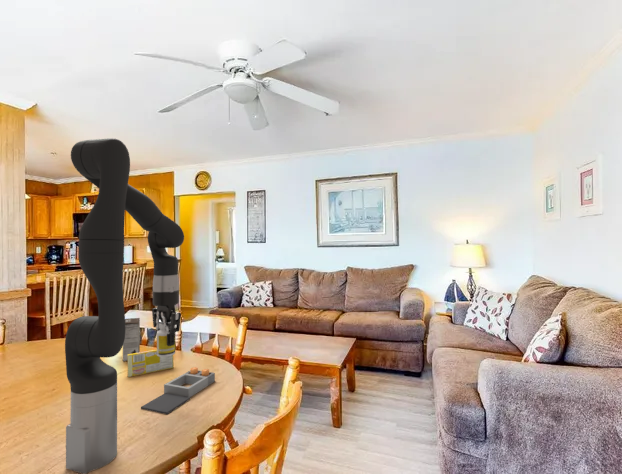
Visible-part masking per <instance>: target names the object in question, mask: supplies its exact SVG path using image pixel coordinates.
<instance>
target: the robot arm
mask: <svg viewBox="0 0 622 474" xmlns="http://www.w3.org/2000/svg"><path fill="white" fill-rule="evenodd" d="M70 160H71V163H72V165H73V167H74V168H75V170H76V171H77V172H78V173H79V174H80V175H82V176H83V178H85V179H86V180H87V181H89V182H90V183H91V184H92V185H94V186H95V187H97V189H99V190H98V194H97V198H96V200H95V203H94V205H93V206H92V208H91V210H90V211H89V212H88V214H87V216H86V218H85V219H84V221H83V223H82V226H80V227H81V228H80V230H79V234H78V250H77V251H78V253H77V256H78V257H77V259H78V263H79V266H80V268H81V270H82V272H83V274H84V276H85V277H86V279H87V281H88V282H89V284H90V285H91V287H92V289H93V291H94V293H95V295H96V300H97V307H98V312H97V313H98V316H97V315H87V316H86V315H84V316H79V317H77V318H75V319H74V320H73V321H72V322H71V323H70V325H69V327H68V328H67V330H66V334H65V340H64V354H65V369H66V371H65V372H66V377H67V381H68V382H69V385H70V387H69V388H70V421H69V422H70V423H69V424H67V425H66V426H65V469H66V470H71V471H73V472H77V473H78V474H79V473H80V474H88V473H89V472H92V471H95V470H98V469H100V468H103V467H105V466H107V465H109V463H111V462H112V461H113V460H114V459H115V458H116V456H117V455H118V372H117V369H116V368H115V367H113V366H112V365H109V364H107V363H106V362H105V361H103V360H102V359H101V358H113V357H116V355H118V354H119V353H120V352H121V350H122V349H123V343H124V339H125V319H126V313H125V304H124V302H125V301H124V285H123V284H124V273H123V272H124V259H125V256H124V255H125V219H126V218H125V215H126V212H127V214H128V215H130V217H132V218H133V220H134V221H135V222H136V223H137V224H138V225H139V226H140V227H141V228H142V229H143V230H145V231H147V232H148V233H147V244H148V247H149V250H150V251H149V252H150V253H151V254H150V255H151V257H152V261H153V279H152V305H153V306H156V307H154V308H151V314H152V316H151V317H152V326H153V328H155V330H156V333H157V332H158V331H159V330H160V329H159V324H160V323H162V322H163V323H164V327H166V330H167V346H172V345H174V344H175V345H176V333H178V332H179V331H180V328H181V327H180V326H181V319H182V318H181V317H182V313H181V312H176V308H175V306H176V305H179V303H180V279H179V259H178V257H176V255H175V256H174V255H172V254H169V253H168V252H167V249H175V248H179V247H181V246H182V244H183V243H184V241H185V234H184V231H183V229H182V228H181V226H180V225H179V224H178V223H177V222H175V221H174V220H172V219H171V218H170V217H168V216H166V214H164V213H163V212H162V211H161V210H160V208H159V207H158V206H157V205H156V203H155V202H154V201H153V200H152V199H151V198H150V197H149V196H148V195H146V194H144V193H143V192H141V191H140V190H138V189H137V188H135V187H134V186H132V185H130V184H129V179H130V172H131V171H130V170H131V159H130V153H129V150H128V148H127V146H126V144H125V143H124V142H123V141H122V140H120V139H117V138H113V137H112V138H97V139H86V140H80V141H78V142H76V143H75V144H74V145H73V146H72V148H71V150H70ZM168 322H171V323H168ZM169 326H170V328H169Z"/></svg>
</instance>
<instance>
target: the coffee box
mask: <svg viewBox="0 0 622 474" xmlns="http://www.w3.org/2000/svg"><path fill="white" fill-rule="evenodd" d="M140 323H141V322H140V317H136V318H125V339H124V343H123V346H122V361H123V362H128V359H127V354H133V353H139V352H141V351H140V350H141V349H140V347H141V345H140V343H141V342H140V341H141V339H140V333H141V332H140V329H141V327H140Z"/></svg>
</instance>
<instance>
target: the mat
mask: <svg viewBox="0 0 622 474" xmlns="http://www.w3.org/2000/svg"><path fill="white" fill-rule="evenodd" d="M190 400H191V397H185V396H179V395H174V394H168V393H164V392H163V394H160V395H159V396H157V397H156V398H154V399H152V400H150V401H148V402H147V403H145V404H143V405H142V406H140V409H141V410H145V411H148V412H152V413H159V414H163V415H169V414H170V413H171V412H174V411H175V410H177V409H178V408H180V407H181V406H183V405H184V404H186V403H187V402H189V401H190Z"/></svg>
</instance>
